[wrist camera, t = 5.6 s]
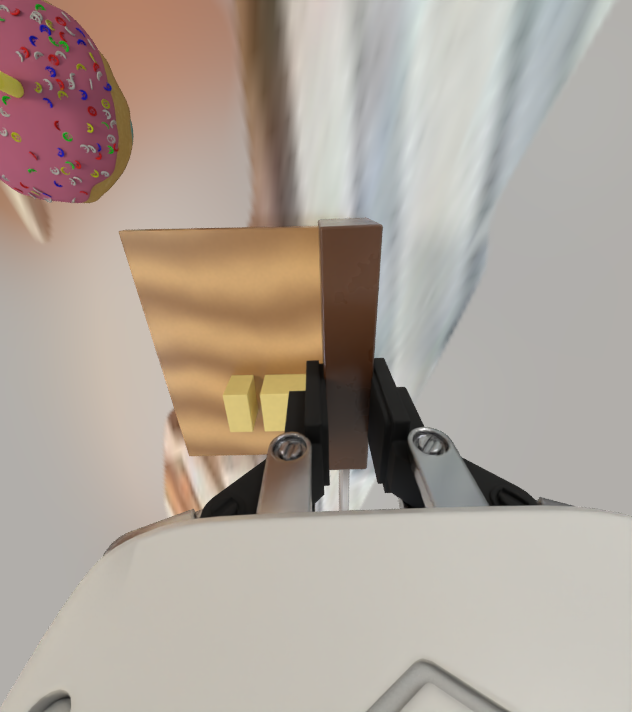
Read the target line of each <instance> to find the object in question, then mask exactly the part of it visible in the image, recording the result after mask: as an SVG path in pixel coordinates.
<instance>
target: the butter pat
mask: <svg viewBox="0 0 632 712" xmlns="http://www.w3.org/2000/svg"><path fill="white" fill-rule="evenodd" d="M223 400H224V404H225V409H226V414H227V419H228V423H229V428H230V432H253V430H254V426H255V422H256V418H257V414H258V403H257V396H256V389H255V382H254V376H253V375H232V376H231V378H230V380H229V382H228V384H227V387H226V389H225V391H224V393H223Z"/></svg>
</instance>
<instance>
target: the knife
mask: <svg viewBox="0 0 632 712" xmlns="http://www.w3.org/2000/svg"><path fill="white" fill-rule="evenodd" d="M382 231H383V226H382V225H381V224H379V223H377V222H375V221H373V220H370V219H368V218H345V219H321V220H319V221H318V239H319V270H320V302H321V333H322V363H323V374H324V380H325V383H326V398H327V412H328V431H329V470H339V511H349V471H350V469H366V468H367V457H368V424H369V408H370V393H371V378H373V366H374V351H375V336H376V321H377V306H378V291H379V276H380V261H381V246H382Z"/></svg>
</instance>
